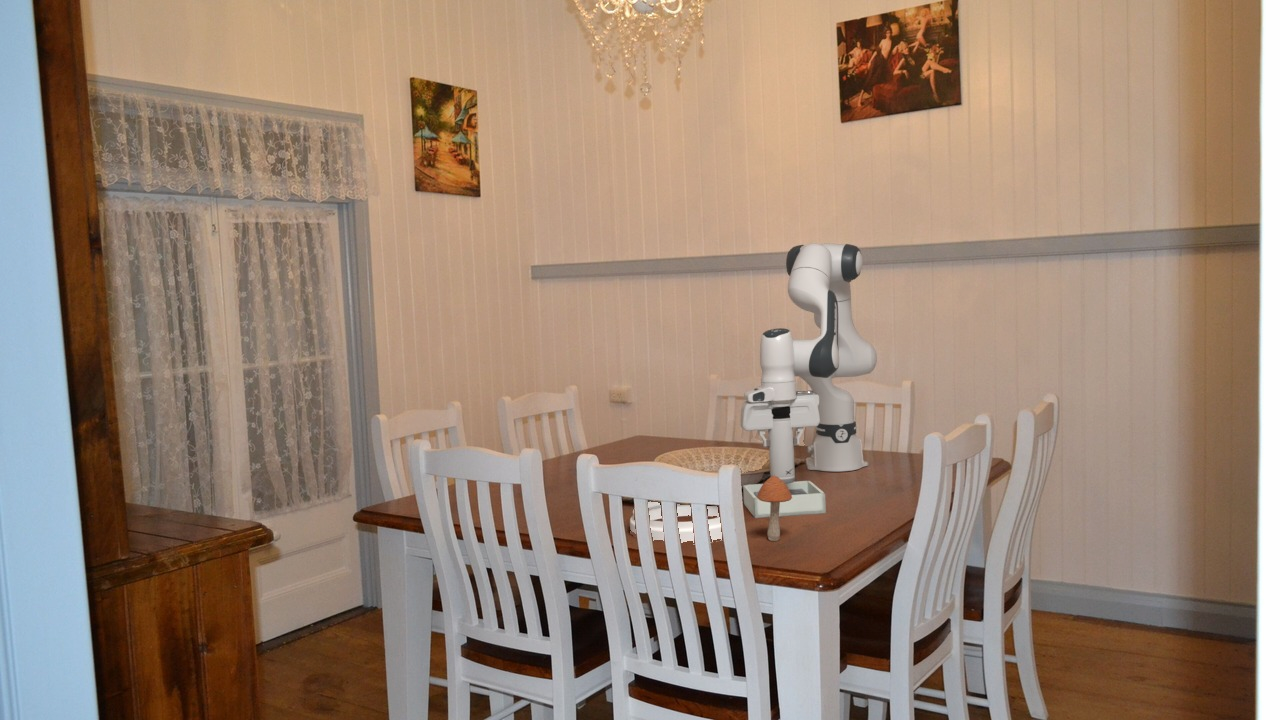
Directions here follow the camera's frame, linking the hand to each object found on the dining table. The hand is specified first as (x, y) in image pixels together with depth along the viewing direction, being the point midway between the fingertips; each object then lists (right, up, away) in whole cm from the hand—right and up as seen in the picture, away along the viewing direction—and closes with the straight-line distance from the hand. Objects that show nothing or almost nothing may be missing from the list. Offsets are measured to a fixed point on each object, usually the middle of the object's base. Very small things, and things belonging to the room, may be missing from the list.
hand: (781, 445), depth 243 cm
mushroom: (-5, -19, -28) cm, 34 cm away
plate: (-25, -20, -14) cm, 35 cm away
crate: (+1, -16, +1) cm, 16 cm away
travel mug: (+1, -10, +1) cm, 10 cm away
